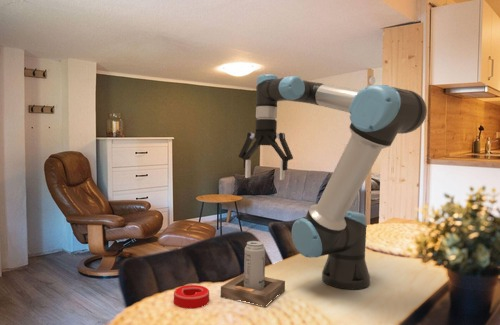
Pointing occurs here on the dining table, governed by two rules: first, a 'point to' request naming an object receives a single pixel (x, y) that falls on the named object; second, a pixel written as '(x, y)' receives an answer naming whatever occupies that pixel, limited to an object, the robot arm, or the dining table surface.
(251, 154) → the robot arm
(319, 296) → the dining table surface
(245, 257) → the energy drink can
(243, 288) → the frame
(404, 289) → the dining table surface
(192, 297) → the decorative ornament
